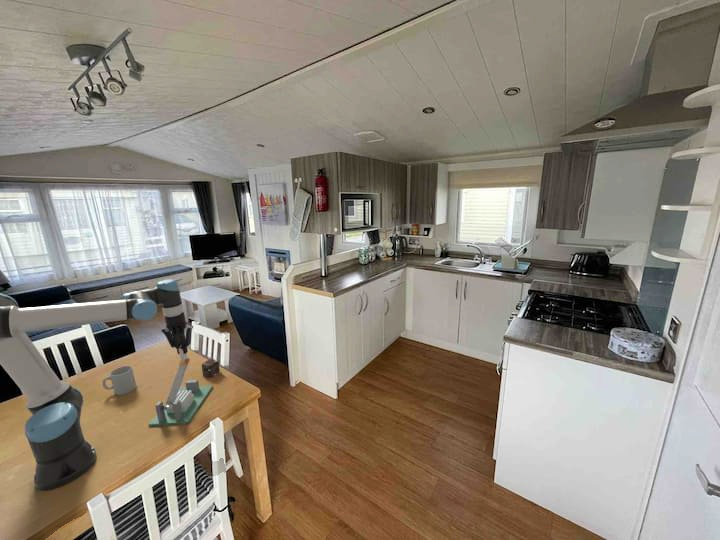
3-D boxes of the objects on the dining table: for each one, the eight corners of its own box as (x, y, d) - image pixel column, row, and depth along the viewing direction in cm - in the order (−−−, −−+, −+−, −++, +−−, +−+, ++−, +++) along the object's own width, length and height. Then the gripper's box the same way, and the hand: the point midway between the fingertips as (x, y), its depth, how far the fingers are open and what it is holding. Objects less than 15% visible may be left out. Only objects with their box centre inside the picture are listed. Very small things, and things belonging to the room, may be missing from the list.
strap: (174, 409, 118) (172, 408, 116) (162, 410, 117) (160, 409, 116) (191, 359, 132) (190, 358, 131) (181, 360, 132) (179, 358, 131)
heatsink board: (188, 423, 118) (184, 404, 115) (148, 426, 117) (144, 407, 114) (212, 387, 141) (210, 370, 139) (180, 389, 140) (177, 372, 138)
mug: (137, 382, 146) (133, 363, 143) (135, 391, 139) (130, 371, 136) (107, 390, 139) (102, 371, 137) (103, 400, 132) (98, 380, 130)
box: (202, 376, 150) (200, 364, 148) (211, 370, 156) (209, 358, 154) (211, 378, 148) (209, 366, 147) (220, 371, 154) (218, 360, 152)
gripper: (193, 309, 128) (202, 354, 134) (163, 310, 127) (174, 355, 133) (184, 316, 120) (194, 363, 127) (153, 318, 119) (165, 365, 126)
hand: (184, 359), depth 130 cm, fingers closed
